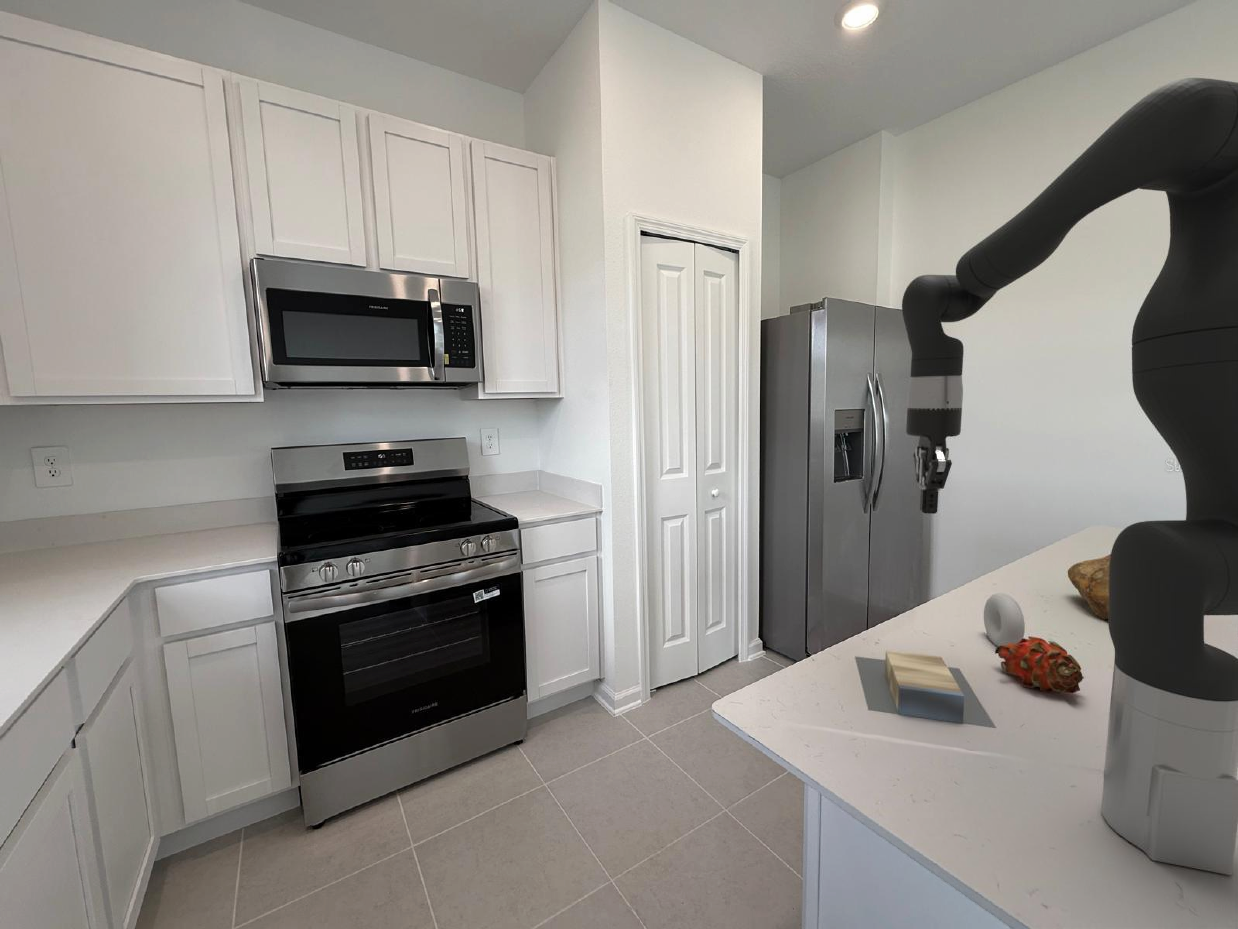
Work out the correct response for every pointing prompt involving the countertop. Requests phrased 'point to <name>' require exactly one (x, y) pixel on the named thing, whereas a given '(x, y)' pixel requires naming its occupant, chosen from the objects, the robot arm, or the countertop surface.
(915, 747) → the countertop surface
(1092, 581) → the rough brown rock
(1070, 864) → the countertop surface
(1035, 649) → the dragon fruit
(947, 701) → the maple block
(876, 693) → the rubber mat
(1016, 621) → the donut
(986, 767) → the countertop surface
